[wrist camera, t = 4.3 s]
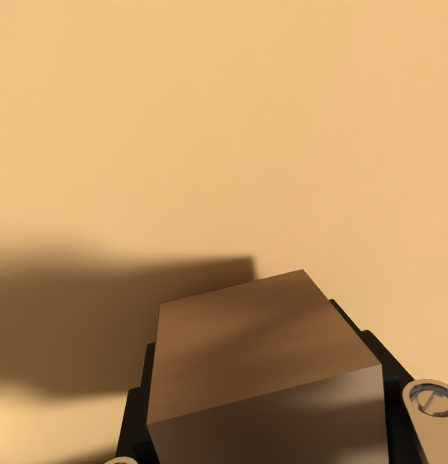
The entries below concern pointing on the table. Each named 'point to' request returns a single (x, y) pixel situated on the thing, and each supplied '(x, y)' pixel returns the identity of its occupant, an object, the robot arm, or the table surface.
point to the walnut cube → (264, 380)
